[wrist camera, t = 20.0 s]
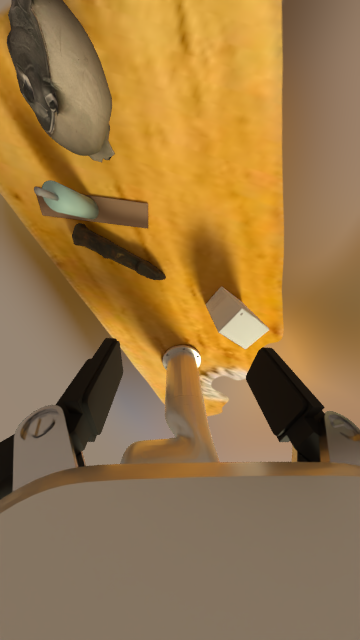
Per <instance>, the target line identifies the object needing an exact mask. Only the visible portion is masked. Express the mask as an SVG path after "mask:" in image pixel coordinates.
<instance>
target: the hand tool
mask: <svg viewBox="0 0 360 640" xmlns="http://www.w3.org/2000/svg"><path fill="white" fill-rule="evenodd" d="M72 238H73V241H74V244H75V245H80V246H85V247H87V248H89V249H91V250H93V251H95V252H97V253H99V254H100V255H102V256H103V257H104V258H109V259H112V260H114V261H116V262H118V263H120V264H122V265H124V266H126V267H128V268H131V269H133V270H135V271H136V272H137V273H138V274H140V275H143V276H145V277H147V278H150V279H153V280H163V279H165V278H166V277H165V275H164V274H163V273H162V272H161V271H160V270H159V269H158V268H157V267H155V266H153V265H152V264H151V263H150V262H148V261H145V260H143V259H141V258H139V257H138V256H136V255H134V254H132V253H131V252H129V251H127V250H125V249H123V248H121V247H119V246H118V245H116V244H114V243H113V242H111V241H109V240H108V239H106V238H103V237H102V236H99V235H97V234H96V233H94V232H92V231H90V230H89V229H88V228H86V225H85V224H82V223H78V224H77V225H76V226H75V228H74V231H73V234H72Z"/></svg>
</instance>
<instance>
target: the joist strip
mask: <svg viewBox="0 0 360 640" xmlns="http://www.w3.org/2000/svg"><path fill="white" fill-rule="evenodd" d="M36 195H37V194H36ZM85 196H87V197H89V198H91V199H92V200H94V201H95V203H96V204H97V206H98V210H99V213H98V216H97V218H95V219H87V218H82V217H78V216H73V215H68V214H64V213H59V212H56V211H54V210H52V209H51V208H50V207H49V206H48V205H47V204H46V202H45V201H44V198H43V197H42V196H39V195H37V198H38V202H39V205H40V208H41V212H42V215H45V216H53V217H61V218H69V219H77V220H85V221H93V222H101V223H109V224H117V225H125V226H133V227H141V228H148V204H147V203H140V202H132V201H125V200H118V199H111V198H104V197H97V196H89V195H85Z"/></svg>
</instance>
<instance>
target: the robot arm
mask: <svg viewBox="0 0 360 640" xmlns="http://www.w3.org/2000/svg"><path fill="white" fill-rule="evenodd" d="M200 363H201V357H200V354H199V352H198V351H197V350H196V349H195V348H193V347H191V346H187V345H178V346H174V347H172V348H170V349H168V350H167V351H166V352H165V354H164V356H163V366H164V368H165V369H166V370H167V377H166V397H165V419H166V422H167V424H168V426H169V428H170V429H171V431H172V432H173V434H174V435H175V438H170V439H159V440H144V441H138V442H134V443H133V444H131V445H130V446H129V447H128V448H127V449H126V451H125V452H124V454H123V457H122V460H121V463H120V464H113V465H94V466H86V463H85V459H84V456H83V452H82V451H83V450H84V449H85V446H86V444H87V442H94V441H95V438H96V436H97V435H100V433H101V432H102V429H103V426H104V423H105V421H106V418H107V416H108V413H109V410H110V407H111V405H112V402H113V399H114V396H115V394H116V391H117V389H118V386H119V383H120V380H121V378H122V375H123V367H122V359H121V351H120V343H119V341H117V340H116V339H114V338H106V339H105V340H104V341H103V343H102V344H101V346H100V347H99V349H98V350H97V352H96V353H95V355H94V356H93V358H92V359H88V360H87V361H86V362H85V364H84V365H83V367H82V368H81V369H80V371H79V372H78V374H77V375H76V377H75V378H74V379H73V381H72V382H71V384H70V385H69V386H68V388H67V389H66V391H65V392H64V394H63V395H62V397H61V398H60V399H59V401H58V402H57V404H56V405H49V406H45V407H42V408H40V409H38V410H36V411H34V412H33V413H31V414H30V415H29V416H27V417H26V418H25V419H24V420H23V421H22V422H21V423H20V424H19V426H18V428H17V429H16V432H15V434H14V435H12V436H10V437H9V438H7V439H5V440H4V441H2V442H0V640H360V430H359V428H358V427H357V426H356V425H355V424H354V423H352V422H351V421H350V420H349V419H347V418H345V417H344V416H342V415H341V414H338V413H336V412H332V411H327V412H326V413H324V412H323V411H322V409H323V408H324V406H323V405H322V404H321V403H320V402H319V401H318V399H317V398H316V397H315V396H314V395H313V394H312V393H311V391H310V390H309V389H308V388H307V387H306V386H305V385H304V384H303V382H302V381H301V380H300V379H299V378H298V377H297V376H296V375H295V373H294V372H293V371H292V370H291V369H290V368H289V367H288V365H287V364H286V363H285V362H284V361H283V360H282V359H281V358H280V356H279V355H278V354H277V353H276V352H275V351H274V350H273V349H272V348H261V349H260V350H259V351H258V353H257V355H256V357H255V359H254V361H253V363H252V365H251V367H250V369H249V371H248V373H247V375H246V380H247V382H248V384H249V386H250V388H251V390H252V392H253V394H254V396H255V398H256V400H257V402H258V404H259V406H260V408H261V410H262V412H263V414H264V416H265V418H266V420H267V422H268V424H269V426H270V428H271V430H272V432H273V433H274V435H276V436H277V438H278V440H279V442H289V441H291V443H292V445H293V449H292V462H223V463H222V462H220V461H219V458H218V455H217V452H216V449H215V446H214V443H213V440H212V437H211V433H210V429H209V425H208V420H207V415H206V410H205V405H204V399H203V394H202V388H201V383H200V377H199V372H198V367H199V366H200Z"/></svg>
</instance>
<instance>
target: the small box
mask: <svg viewBox="0 0 360 640" xmlns="http://www.w3.org/2000/svg"><path fill="white" fill-rule="evenodd" d="M206 307H207V309H208V311H209V313H210V315H211V318H212V320H213V322H214V324H215V326H216V328H217V330H218V332H219V333H220V334H222V335H223V336H225V337H227V338H228V339H230V340H231V341H233V342H234V343H236V344H238V345H239V346H241V347H242V348H244V349H247V348H248V347H249V346H250V345H251V344H253V343H254V342H255V341H256V340H258V339H259V338H260V337H261V336H262V335H264V334H265V333H266V332H267V331H268V330H269V328H268V327H267V326H266V325H265V324H264V323H263V322H262V321H261V320H260V319H259V318H258V317H257V316H256V315H255V314H254V313H253V312H252V311H250V310H249V309H248V308H247V307H246V306H245V305H244V304H243V303H242V302H241V301H240V300H239V299H238V298H236V297H235V296H234V295H232V294H231V293H230V292H229V291H227V290H226V289H225V288H223V287H222V286H221V287H220V288H219V289H218V291H217V292H216V293H215V294H214V295H213V296H212V298H211V299H210V300H209V301H208V302H207V303H206Z"/></svg>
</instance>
